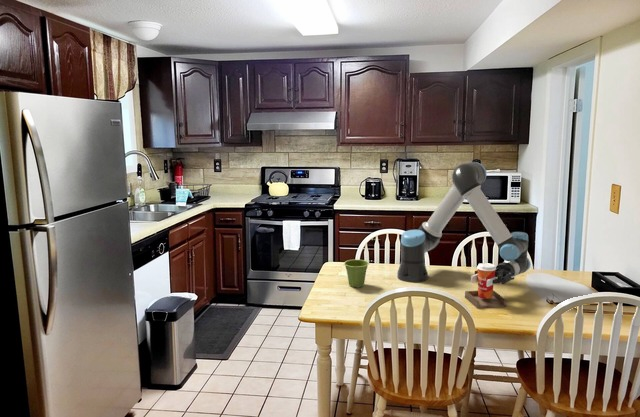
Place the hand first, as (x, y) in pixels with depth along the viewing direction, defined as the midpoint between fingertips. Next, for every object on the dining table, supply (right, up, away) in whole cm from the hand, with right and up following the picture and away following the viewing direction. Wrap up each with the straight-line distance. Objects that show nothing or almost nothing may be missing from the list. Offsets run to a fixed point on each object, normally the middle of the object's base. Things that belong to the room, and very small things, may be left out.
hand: (479, 281), depth 193 cm
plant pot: (-49, -7, +29) cm, 58 cm away
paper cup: (+4, -7, +5) cm, 10 cm away
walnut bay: (+4, -10, +5) cm, 12 cm away
